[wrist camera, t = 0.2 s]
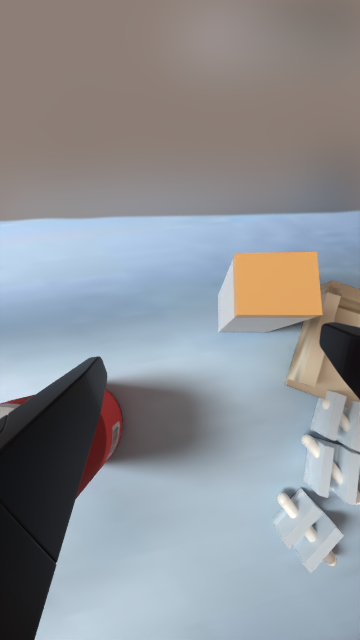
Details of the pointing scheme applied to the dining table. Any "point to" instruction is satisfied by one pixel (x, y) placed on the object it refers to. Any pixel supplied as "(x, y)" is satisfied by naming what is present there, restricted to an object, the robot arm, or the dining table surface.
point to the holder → (309, 359)
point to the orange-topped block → (269, 291)
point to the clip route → (323, 482)
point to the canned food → (103, 438)
